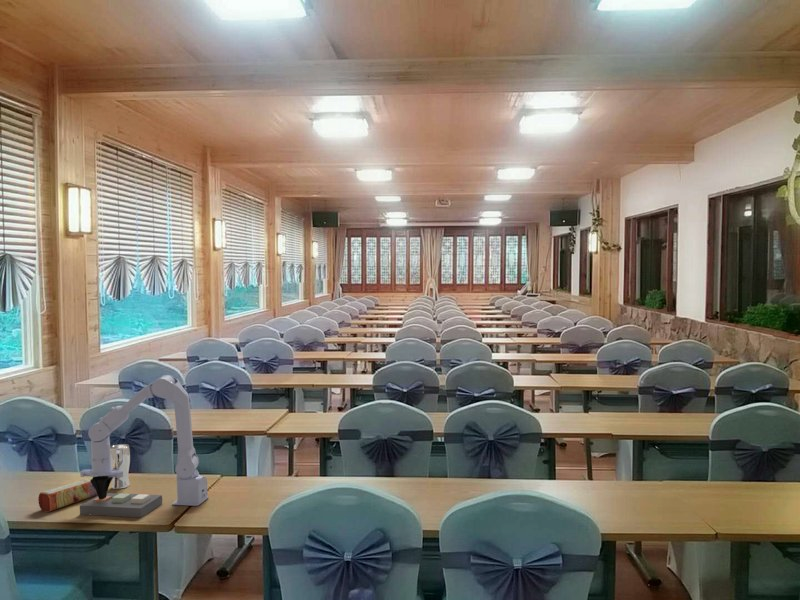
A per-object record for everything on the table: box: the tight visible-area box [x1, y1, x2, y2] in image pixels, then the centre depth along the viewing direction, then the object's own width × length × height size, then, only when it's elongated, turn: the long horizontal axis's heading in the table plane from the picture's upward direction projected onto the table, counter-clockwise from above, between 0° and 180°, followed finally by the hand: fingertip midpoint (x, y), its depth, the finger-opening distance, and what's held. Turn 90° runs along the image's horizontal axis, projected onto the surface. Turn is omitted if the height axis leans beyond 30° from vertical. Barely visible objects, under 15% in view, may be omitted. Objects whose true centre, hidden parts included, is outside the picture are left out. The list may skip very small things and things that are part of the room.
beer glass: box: [110, 443, 131, 490], centre depth 222 cm, size 7×7×15 cm
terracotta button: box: [93, 496, 112, 502], centre depth 200 cm, size 4×4×3 cm
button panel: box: [79, 492, 163, 518], centre depth 199 cm, size 22×12×3 cm, turn 80°
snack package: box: [37, 477, 98, 513], centre depth 208 cm, size 21×7×7 cm, turn 152°
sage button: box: [112, 493, 132, 503], centre depth 199 cm, size 4×4×3 cm
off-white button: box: [131, 493, 151, 504], centre depth 198 cm, size 4×4×3 cm
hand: (102, 498), depth 200 cm, fingers closed, pressing on terracotta button
